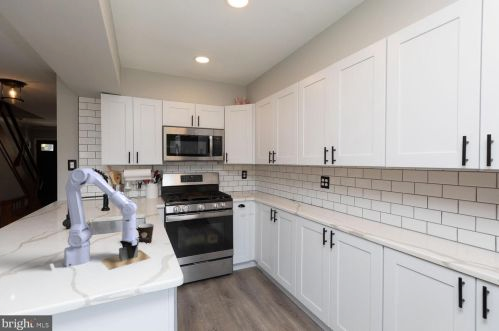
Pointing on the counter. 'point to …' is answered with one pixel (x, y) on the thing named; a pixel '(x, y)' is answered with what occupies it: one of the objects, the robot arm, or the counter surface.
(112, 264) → the oak board
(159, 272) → the counter surface
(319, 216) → the counter surface
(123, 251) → the sanding block
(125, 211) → the robot arm
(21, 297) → the counter surface
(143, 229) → the coffee mug
